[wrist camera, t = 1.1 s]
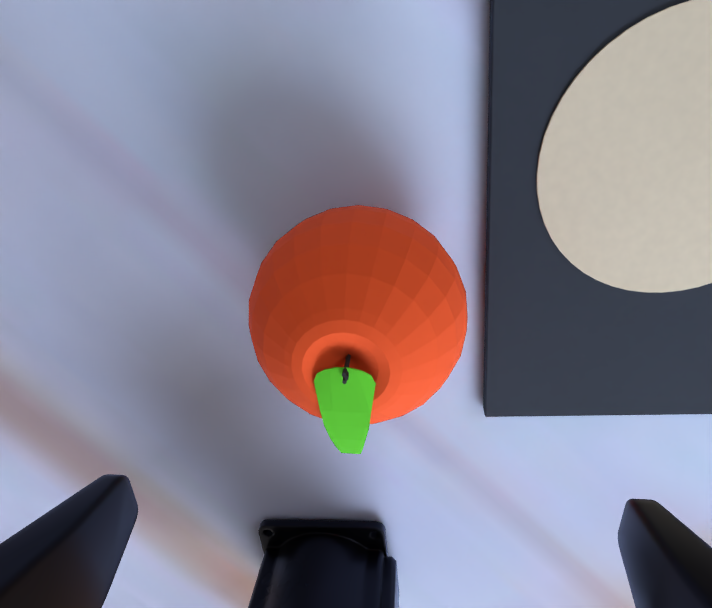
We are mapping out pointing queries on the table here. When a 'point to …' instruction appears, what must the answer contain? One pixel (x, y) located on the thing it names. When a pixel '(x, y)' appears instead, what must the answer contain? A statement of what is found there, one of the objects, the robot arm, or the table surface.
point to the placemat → (599, 208)
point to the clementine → (357, 318)
